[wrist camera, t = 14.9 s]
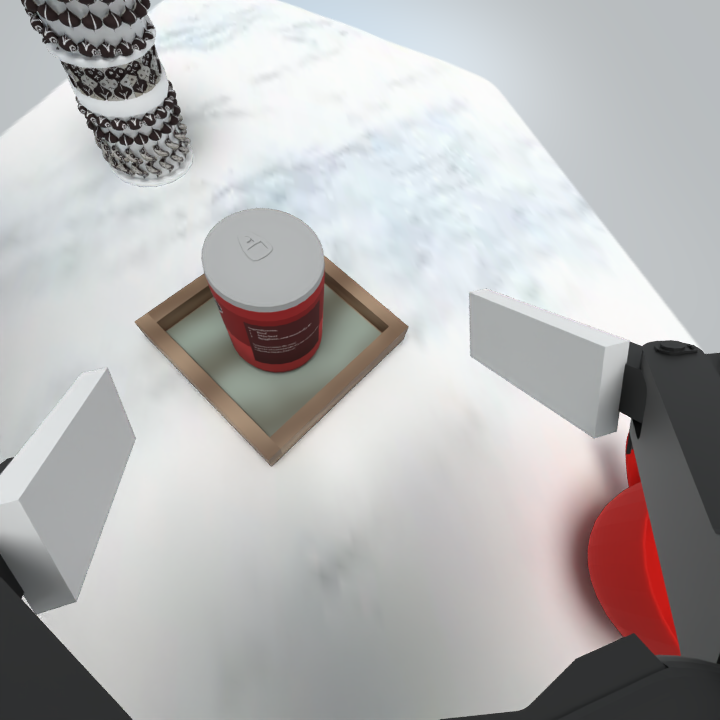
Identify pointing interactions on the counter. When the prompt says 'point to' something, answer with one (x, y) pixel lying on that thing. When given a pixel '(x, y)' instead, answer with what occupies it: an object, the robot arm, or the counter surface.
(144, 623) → the counter surface
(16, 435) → the counter surface
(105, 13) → the decorative candle
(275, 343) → the canned food
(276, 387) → the tray
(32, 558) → the robot arm
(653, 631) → the ceramic cup
